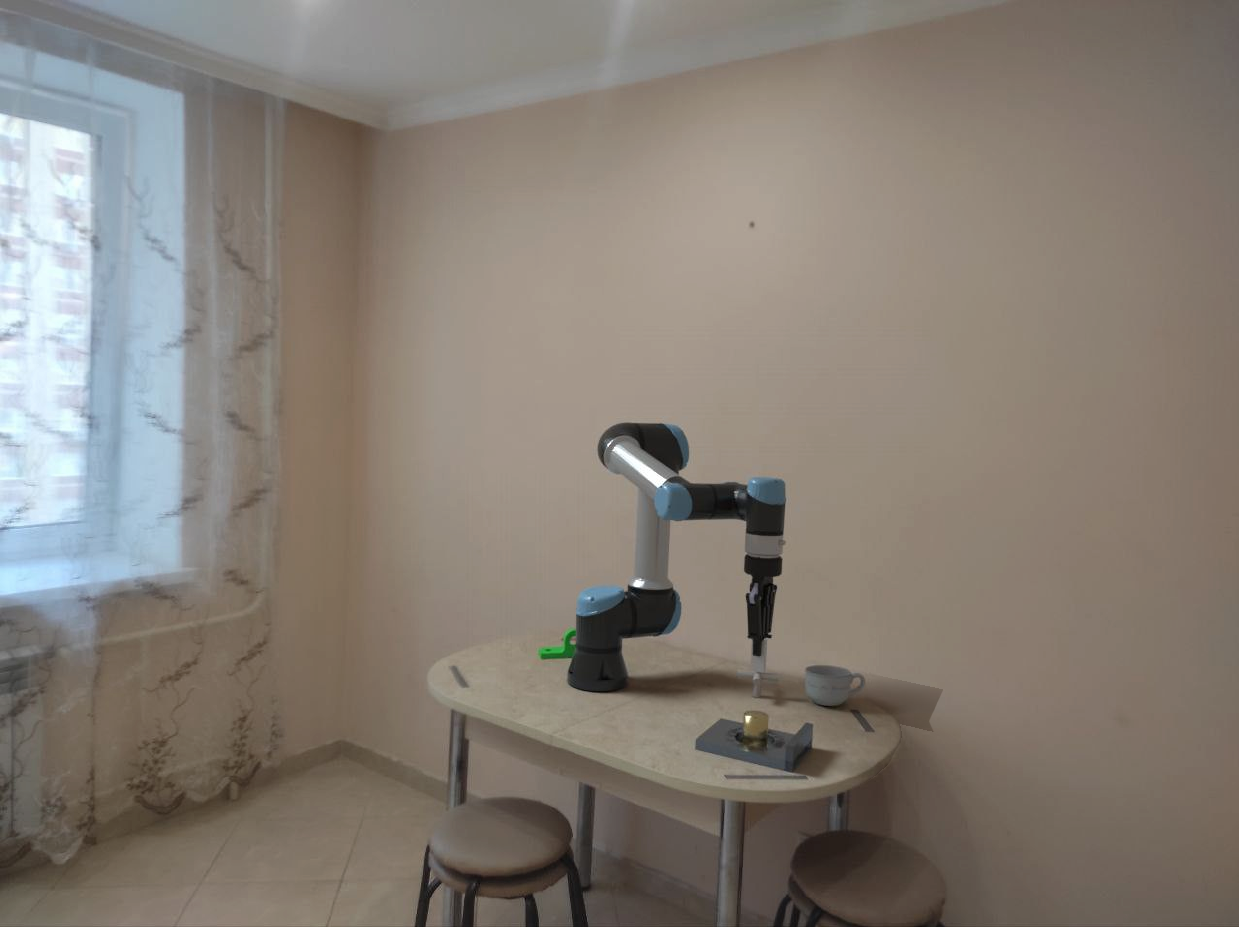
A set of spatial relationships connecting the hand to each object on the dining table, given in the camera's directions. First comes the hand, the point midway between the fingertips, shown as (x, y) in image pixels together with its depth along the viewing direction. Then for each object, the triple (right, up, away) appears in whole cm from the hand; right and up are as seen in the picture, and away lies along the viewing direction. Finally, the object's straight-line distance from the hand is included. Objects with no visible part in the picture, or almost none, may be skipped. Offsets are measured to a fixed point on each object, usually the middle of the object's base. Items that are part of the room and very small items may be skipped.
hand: (758, 670), depth 168 cm
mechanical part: (-44, -11, +60) cm, 76 cm away
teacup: (+23, -16, +30) cm, 41 cm away
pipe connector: (+5, -15, +33) cm, 36 cm away
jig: (-1, -16, +1) cm, 16 cm away
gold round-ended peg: (-1, -16, +1) cm, 16 cm away
